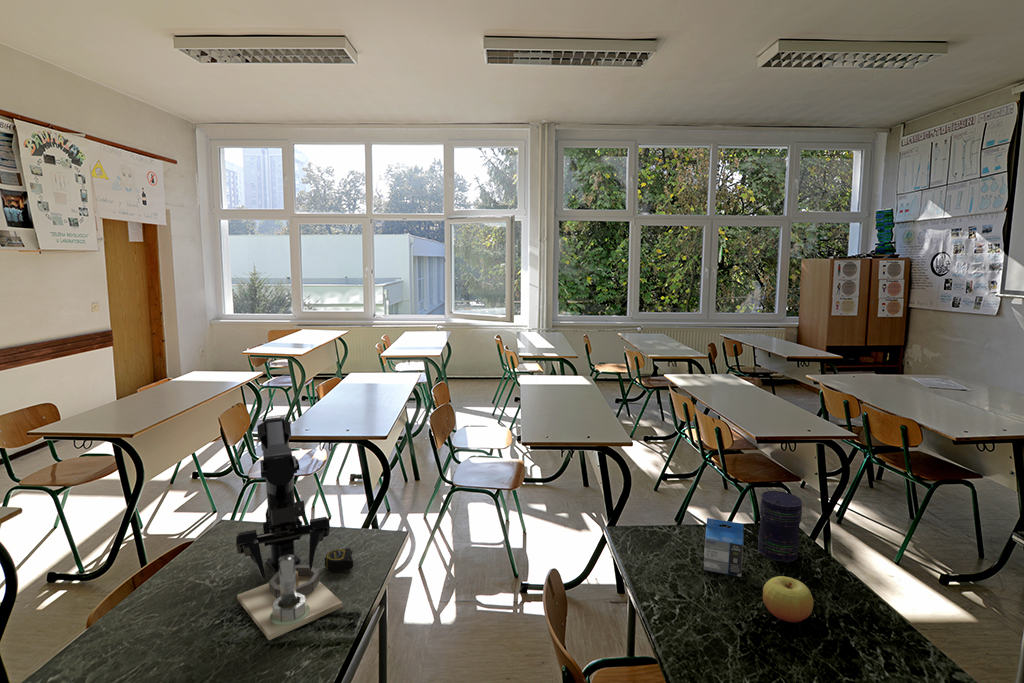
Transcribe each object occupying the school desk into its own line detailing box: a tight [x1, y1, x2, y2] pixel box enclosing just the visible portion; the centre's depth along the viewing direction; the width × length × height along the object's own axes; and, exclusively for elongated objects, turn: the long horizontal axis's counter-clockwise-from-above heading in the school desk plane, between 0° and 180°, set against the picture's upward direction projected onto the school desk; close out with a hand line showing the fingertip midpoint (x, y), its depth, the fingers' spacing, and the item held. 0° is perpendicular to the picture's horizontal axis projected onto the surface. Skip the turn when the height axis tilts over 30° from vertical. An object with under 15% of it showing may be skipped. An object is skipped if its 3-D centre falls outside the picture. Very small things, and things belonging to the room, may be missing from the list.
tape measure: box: [324, 547, 354, 574], centre depth 141 cm, size 7×7×4 cm
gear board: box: [236, 564, 343, 641], centre depth 126 cm, size 19×16×4 cm
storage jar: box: [757, 490, 803, 563], centre depth 148 cm, size 10×10×15 cm
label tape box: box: [703, 517, 744, 578], centre depth 139 cm, size 9×4×12 cm, turn 68°
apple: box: [762, 575, 815, 623], centre depth 122 cm, size 10×10×8 cm
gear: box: [272, 554, 306, 623], centre depth 120 cm, size 6×6×12 cm
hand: (287, 574), depth 118 cm, fingers open, 9 cm apart
